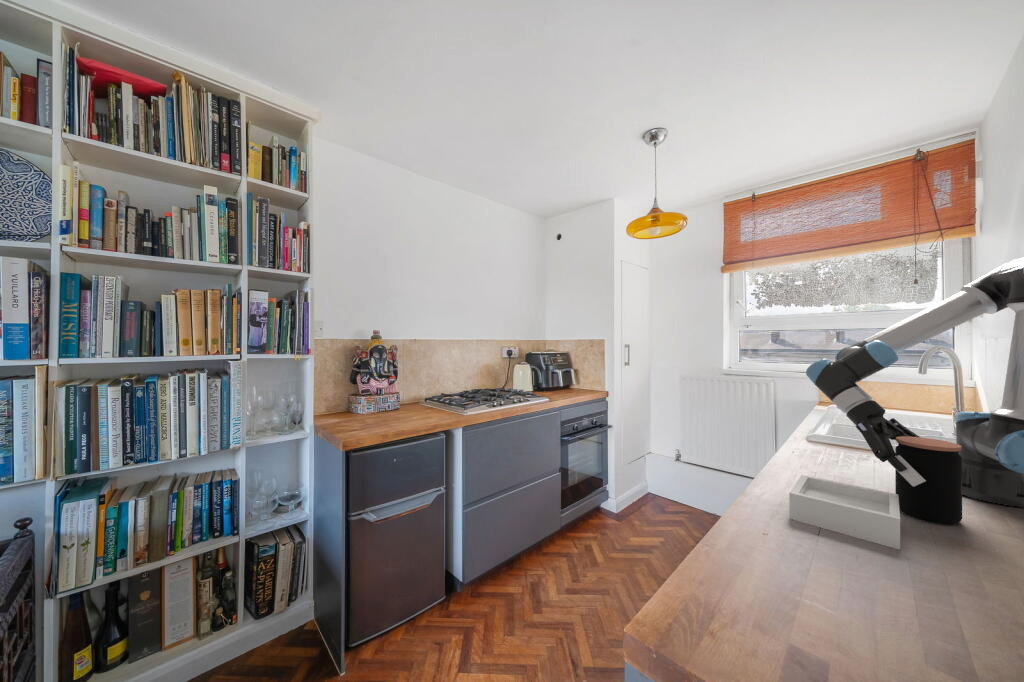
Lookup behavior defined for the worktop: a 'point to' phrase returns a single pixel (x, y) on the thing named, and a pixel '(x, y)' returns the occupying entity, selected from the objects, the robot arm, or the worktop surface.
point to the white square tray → (847, 509)
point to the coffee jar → (931, 480)
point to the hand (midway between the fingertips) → (936, 480)
